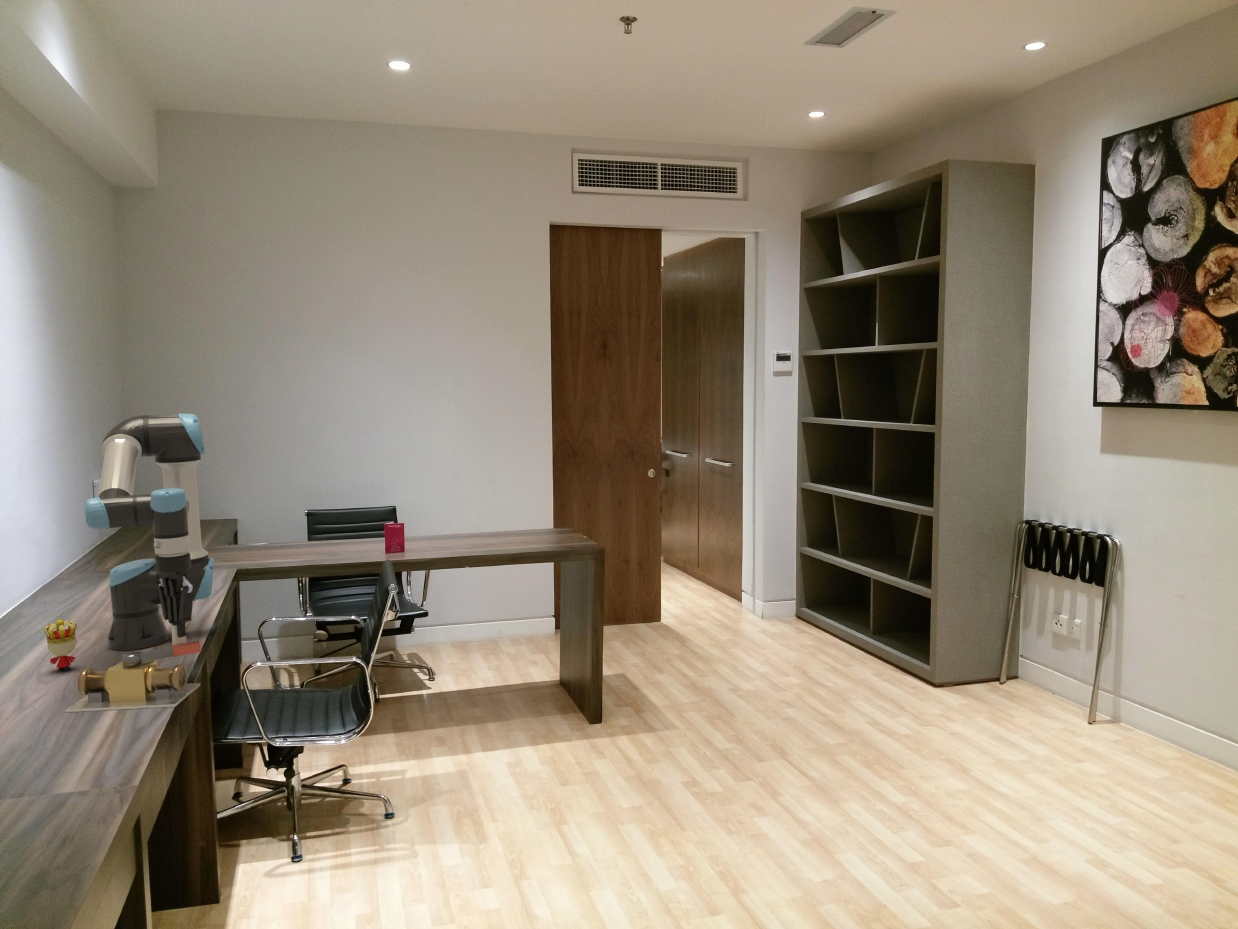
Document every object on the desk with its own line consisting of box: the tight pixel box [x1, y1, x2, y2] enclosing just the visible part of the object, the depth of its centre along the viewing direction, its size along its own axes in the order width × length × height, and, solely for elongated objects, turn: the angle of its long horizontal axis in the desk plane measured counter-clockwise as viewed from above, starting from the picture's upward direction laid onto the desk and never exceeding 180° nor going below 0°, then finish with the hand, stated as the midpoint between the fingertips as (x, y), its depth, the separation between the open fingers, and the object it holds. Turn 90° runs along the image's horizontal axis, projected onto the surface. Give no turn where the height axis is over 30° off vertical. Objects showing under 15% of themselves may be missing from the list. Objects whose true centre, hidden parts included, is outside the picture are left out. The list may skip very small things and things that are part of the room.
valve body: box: [64, 659, 201, 713], centre depth 205 cm, size 24×14×8 cm, turn 94°
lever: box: [121, 640, 202, 667], centre depth 208 cm, size 16×4×2 cm, turn 126°
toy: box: [43, 613, 78, 673], centre depth 226 cm, size 7×7×15 cm
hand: (179, 649), depth 212 cm, fingers closed
